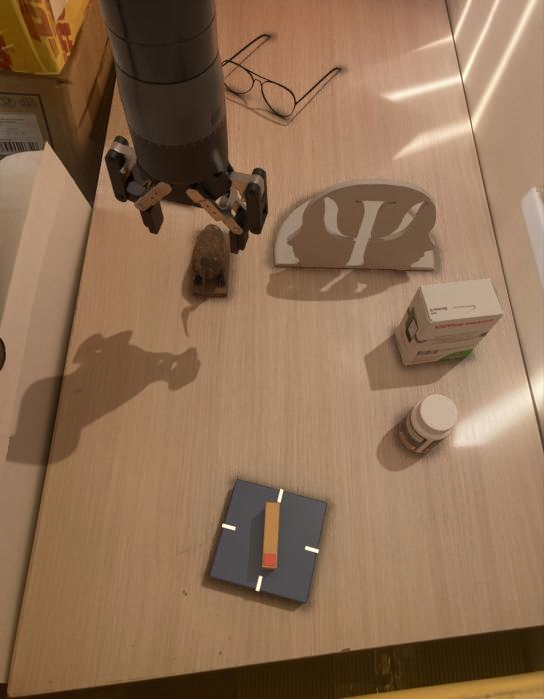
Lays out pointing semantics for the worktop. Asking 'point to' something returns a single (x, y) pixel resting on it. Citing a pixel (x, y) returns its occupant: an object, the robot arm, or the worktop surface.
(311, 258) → the psi symbol sculpture
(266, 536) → the orange wooden bar
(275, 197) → the worktop surface
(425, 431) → the pill bottle
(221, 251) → the figurine
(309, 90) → the glasses
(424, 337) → the ink box
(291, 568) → the plate
